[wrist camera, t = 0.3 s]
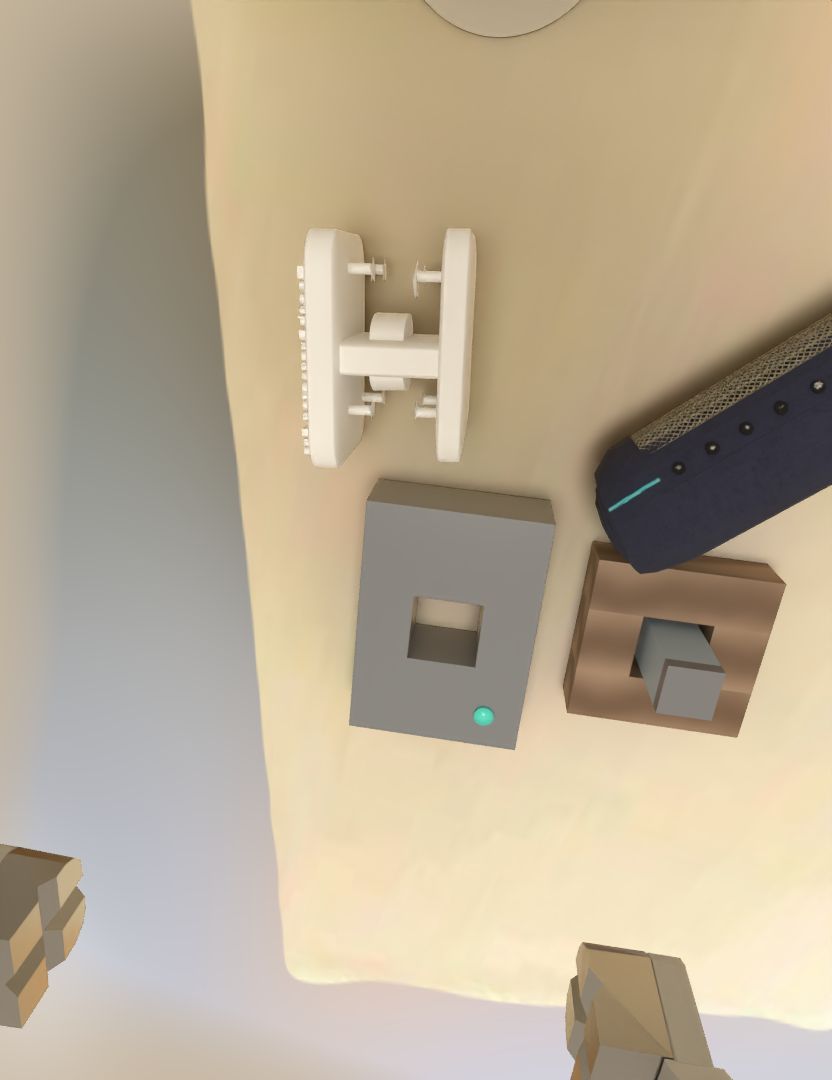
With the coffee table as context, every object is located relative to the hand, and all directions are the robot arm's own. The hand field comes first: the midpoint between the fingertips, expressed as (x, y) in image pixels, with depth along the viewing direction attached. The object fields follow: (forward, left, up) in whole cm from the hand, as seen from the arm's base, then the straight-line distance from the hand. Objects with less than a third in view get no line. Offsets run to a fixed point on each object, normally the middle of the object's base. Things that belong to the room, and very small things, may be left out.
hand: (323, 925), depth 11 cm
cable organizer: (-5, -5, -47) cm, 48 cm away
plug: (+16, +19, -47) cm, 53 cm away
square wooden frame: (+16, +19, -47) cm, 53 cm away
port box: (+16, +1, -47) cm, 50 cm away
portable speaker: (-1, +21, -47) cm, 52 cm away
